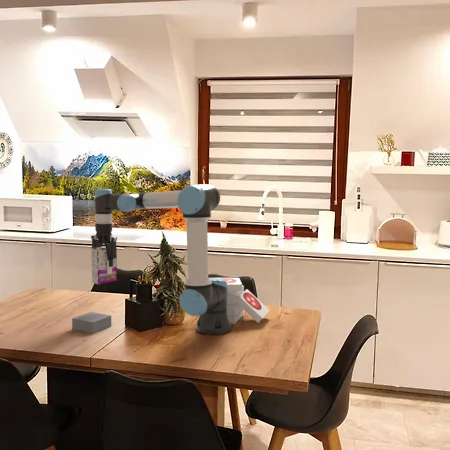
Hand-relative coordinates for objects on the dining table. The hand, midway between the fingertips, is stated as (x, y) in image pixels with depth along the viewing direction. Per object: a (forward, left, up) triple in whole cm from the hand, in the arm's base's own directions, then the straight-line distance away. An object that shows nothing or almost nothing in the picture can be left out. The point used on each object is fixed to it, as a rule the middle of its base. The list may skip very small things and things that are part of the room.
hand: (104, 272), depth 245 cm
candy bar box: (0, 0, -5) cm, 5 cm away
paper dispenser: (-51, -34, -23) cm, 65 cm away
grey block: (-2, +11, -23) cm, 25 cm away
